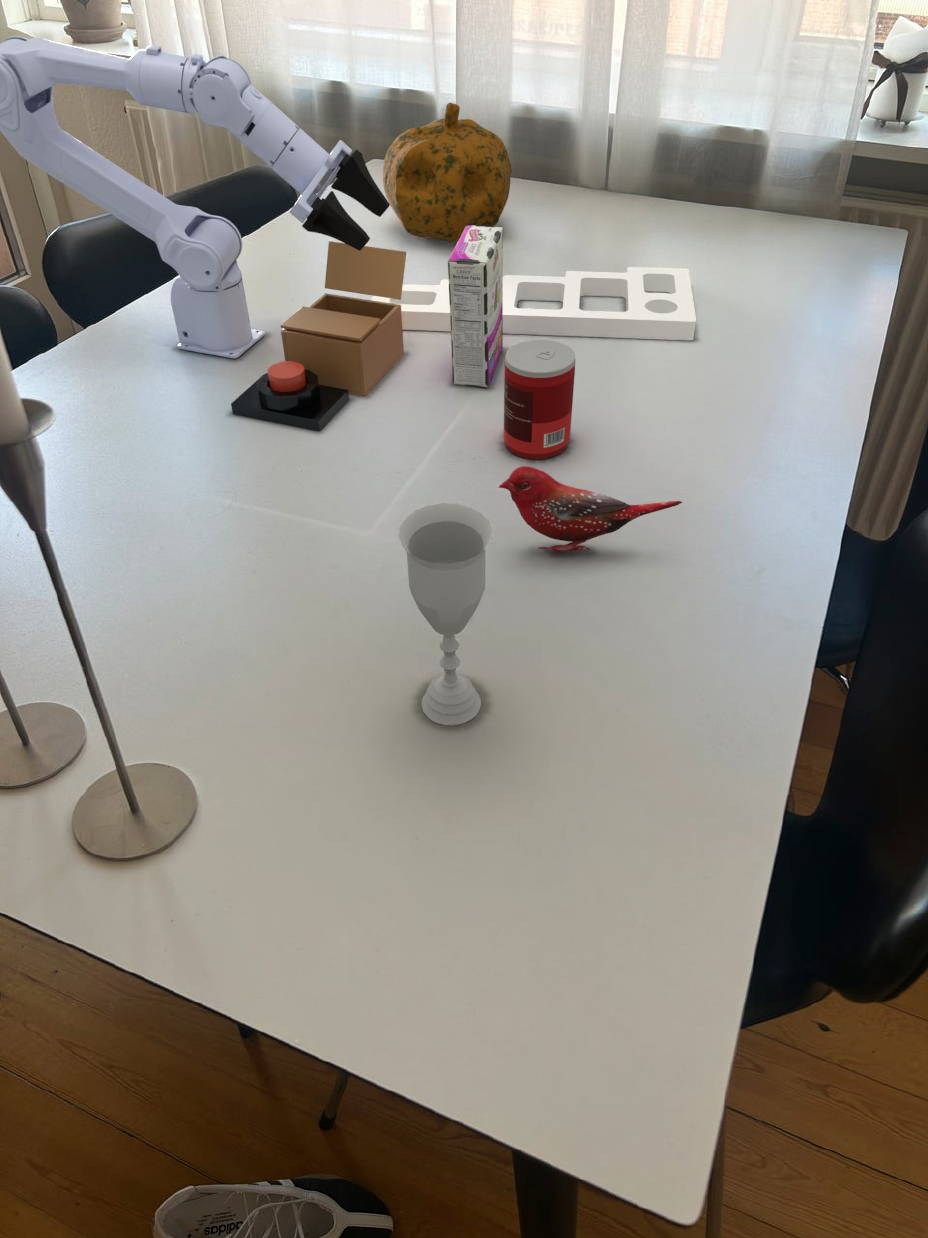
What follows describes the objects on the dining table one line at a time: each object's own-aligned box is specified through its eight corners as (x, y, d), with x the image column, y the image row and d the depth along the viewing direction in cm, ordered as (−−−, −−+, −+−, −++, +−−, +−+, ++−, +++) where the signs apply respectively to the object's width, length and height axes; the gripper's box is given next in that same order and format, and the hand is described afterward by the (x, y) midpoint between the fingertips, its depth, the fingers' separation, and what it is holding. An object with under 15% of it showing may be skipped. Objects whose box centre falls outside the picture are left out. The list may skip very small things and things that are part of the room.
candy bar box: (467, 346, 131) (465, 223, 120) (503, 349, 130) (505, 225, 119) (449, 386, 123) (446, 258, 112) (488, 389, 122) (488, 260, 111)
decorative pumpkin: (393, 200, 171) (395, 76, 157) (510, 215, 170) (522, 91, 156) (369, 248, 157) (368, 116, 143) (496, 265, 156) (509, 133, 142)
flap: (324, 288, 127) (325, 288, 127) (400, 299, 124) (401, 299, 124) (328, 240, 125) (329, 241, 126) (405, 251, 122) (406, 251, 123)
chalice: (409, 675, 84) (396, 505, 72) (486, 669, 85) (487, 500, 73) (413, 738, 79) (400, 566, 67) (495, 732, 79) (497, 560, 67)
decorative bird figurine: (497, 542, 98) (498, 458, 92) (672, 543, 98) (686, 459, 91) (497, 560, 96) (498, 475, 90) (676, 561, 96) (690, 476, 89)
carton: (330, 342, 132) (324, 287, 127) (404, 354, 129) (400, 299, 124) (288, 382, 124) (279, 325, 119) (365, 396, 121) (360, 338, 116)
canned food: (576, 430, 114) (583, 343, 107) (559, 465, 109) (565, 376, 101) (515, 420, 116) (517, 334, 109) (494, 454, 111) (495, 366, 103)
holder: (368, 328, 135) (366, 309, 134) (389, 276, 149) (388, 259, 147) (693, 340, 131) (696, 321, 129) (686, 286, 145) (688, 268, 143)
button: (263, 390, 116) (260, 374, 115) (281, 373, 119) (278, 358, 118) (295, 396, 115) (293, 380, 114) (312, 379, 118) (310, 363, 117)
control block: (232, 414, 118) (227, 388, 116) (265, 384, 124) (261, 359, 121) (319, 431, 115) (316, 405, 113) (349, 400, 120) (346, 374, 118)
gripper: (277, 156, 108) (373, 240, 113) (323, 95, 116) (411, 175, 121) (250, 197, 113) (342, 275, 118) (296, 135, 121) (380, 211, 126)
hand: (375, 227), depth 120 cm, fingers open, 7 cm apart
